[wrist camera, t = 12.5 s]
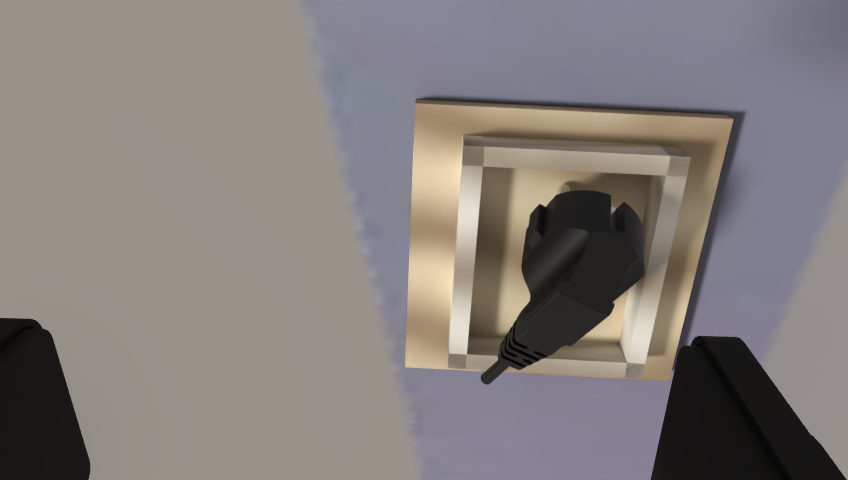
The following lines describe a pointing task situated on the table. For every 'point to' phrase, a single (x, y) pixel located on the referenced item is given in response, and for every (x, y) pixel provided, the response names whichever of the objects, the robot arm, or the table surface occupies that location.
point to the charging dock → (537, 184)
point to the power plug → (571, 274)
